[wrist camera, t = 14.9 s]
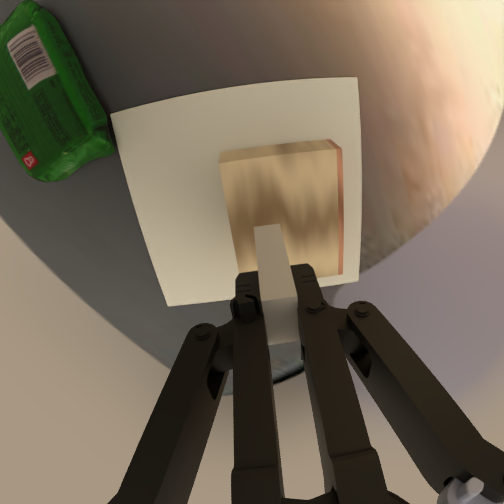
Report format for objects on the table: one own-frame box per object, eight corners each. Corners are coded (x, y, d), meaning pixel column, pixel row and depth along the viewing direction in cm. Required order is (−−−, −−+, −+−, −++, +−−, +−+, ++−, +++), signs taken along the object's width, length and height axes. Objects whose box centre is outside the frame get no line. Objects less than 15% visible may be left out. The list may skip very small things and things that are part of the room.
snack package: (54, -11, 15) (18, -21, 10) (131, 141, 22) (106, 159, 18) (-4, 42, 16) (-43, 46, 11) (66, 183, 24) (35, 209, 19)
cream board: (111, 113, 21) (110, 114, 20) (355, 77, 20) (357, 77, 20) (168, 303, 30) (168, 306, 30) (356, 278, 30) (358, 281, 29)
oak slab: (218, 163, 20) (342, 148, 20) (221, 152, 23) (330, 139, 22) (242, 288, 25) (342, 274, 25) (241, 266, 28) (333, 254, 28)
